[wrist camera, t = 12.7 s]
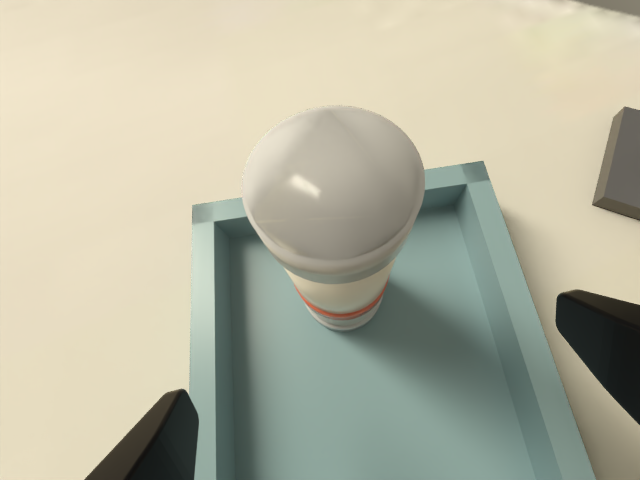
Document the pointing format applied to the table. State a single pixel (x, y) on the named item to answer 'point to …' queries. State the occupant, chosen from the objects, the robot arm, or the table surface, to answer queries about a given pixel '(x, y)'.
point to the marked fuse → (335, 206)
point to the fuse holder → (621, 166)
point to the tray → (379, 358)
